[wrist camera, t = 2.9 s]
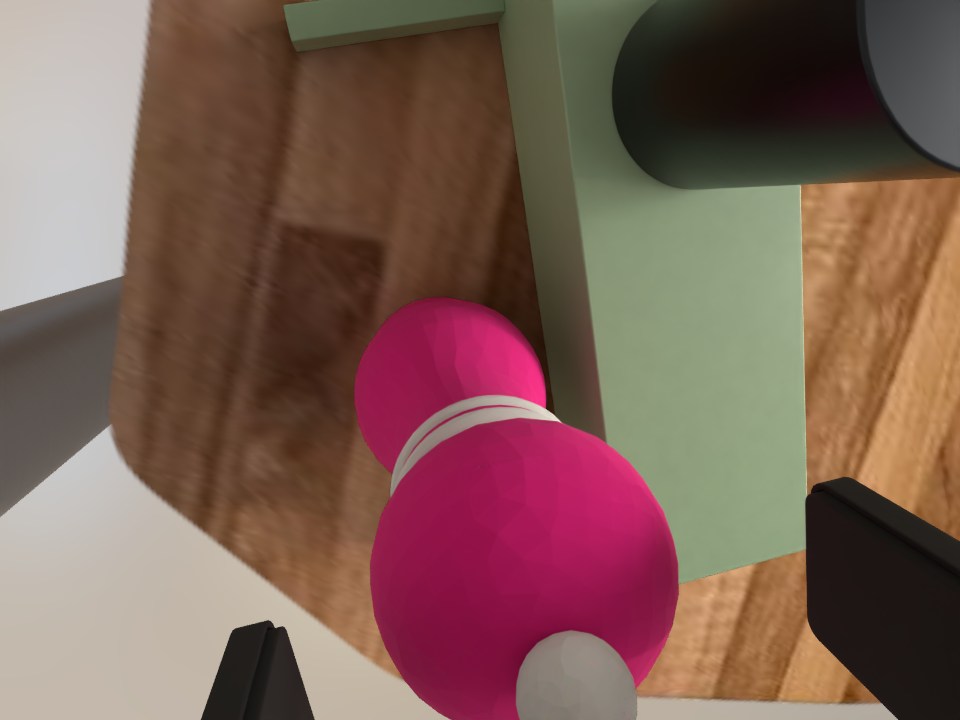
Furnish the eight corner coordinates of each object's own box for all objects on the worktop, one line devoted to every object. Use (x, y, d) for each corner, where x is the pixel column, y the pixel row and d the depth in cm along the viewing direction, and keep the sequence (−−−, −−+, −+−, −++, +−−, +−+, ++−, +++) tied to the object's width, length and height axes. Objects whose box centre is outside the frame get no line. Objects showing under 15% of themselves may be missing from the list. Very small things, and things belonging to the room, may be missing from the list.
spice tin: (621, 204, 20) (858, 203, 10) (600, 0, 18) (861, -235, 8) (787, 172, 20) (1157, 144, 11) (782, -26, 19) (1214, -269, 9)
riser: (412, 552, 29) (424, 654, 23) (285, 6, 23) (249, -78, 16) (715, 475, 31) (808, 549, 24) (679, -47, 25) (795, -142, 18)
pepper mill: (338, 419, 27) (256, 941, 8) (382, 264, 26) (414, 441, 6) (488, 454, 29) (720, 955, 10) (537, 311, 27) (922, 561, 8)
